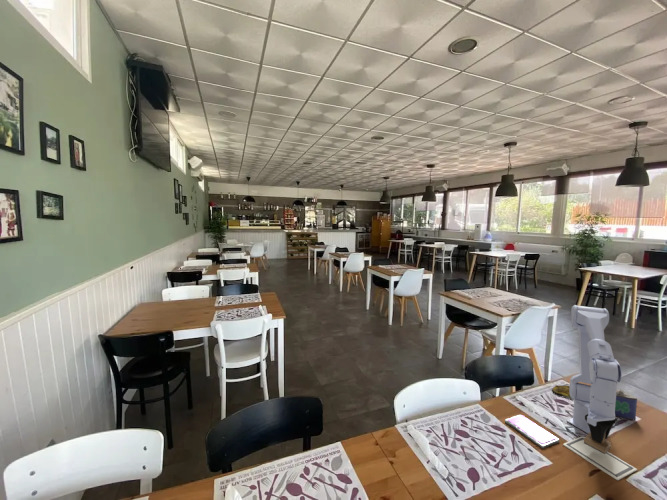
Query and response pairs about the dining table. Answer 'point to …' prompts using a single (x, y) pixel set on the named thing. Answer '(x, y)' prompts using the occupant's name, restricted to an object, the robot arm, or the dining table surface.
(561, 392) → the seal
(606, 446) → the stamp
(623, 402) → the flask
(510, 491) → the dining table surface
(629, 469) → the marked card
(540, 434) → the ink pad
